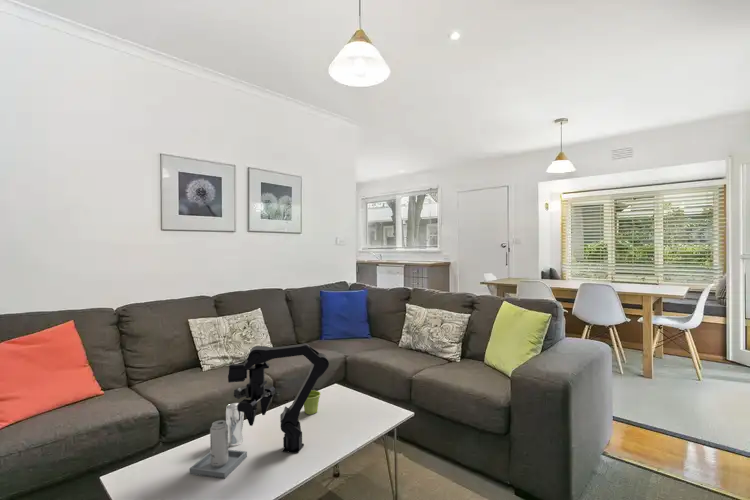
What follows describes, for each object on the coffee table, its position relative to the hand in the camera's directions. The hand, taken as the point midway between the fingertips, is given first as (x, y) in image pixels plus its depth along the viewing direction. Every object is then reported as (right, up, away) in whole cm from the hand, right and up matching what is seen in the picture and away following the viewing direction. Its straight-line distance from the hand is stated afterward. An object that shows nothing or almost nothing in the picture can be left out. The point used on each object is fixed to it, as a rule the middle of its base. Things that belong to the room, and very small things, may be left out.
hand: (257, 420), depth 146 cm
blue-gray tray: (-12, -13, -8) cm, 19 cm away
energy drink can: (-12, -13, -8) cm, 19 cm away
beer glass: (-12, -13, +9) cm, 20 cm away
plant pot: (+15, -13, +37) cm, 42 cm away
